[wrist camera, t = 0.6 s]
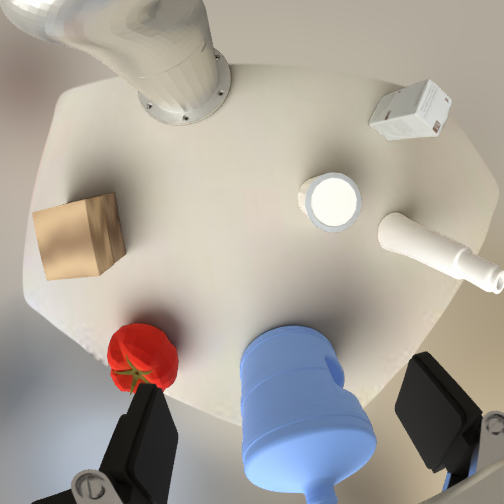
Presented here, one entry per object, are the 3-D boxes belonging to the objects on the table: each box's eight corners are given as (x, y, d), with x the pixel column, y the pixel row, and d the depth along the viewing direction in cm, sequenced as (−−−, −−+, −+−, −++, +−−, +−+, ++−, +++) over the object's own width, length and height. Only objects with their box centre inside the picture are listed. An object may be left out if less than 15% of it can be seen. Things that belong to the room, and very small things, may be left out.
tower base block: (67, 203, 35) (51, 207, 31) (115, 192, 35) (101, 194, 31) (78, 260, 38) (64, 269, 33) (126, 253, 38) (114, 262, 34)
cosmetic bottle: (394, 258, 40) (492, 323, 18) (369, 235, 38) (473, 293, 17) (415, 228, 39) (521, 273, 17) (392, 204, 37) (506, 236, 16)
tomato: (153, 303, 40) (135, 334, 31) (195, 362, 43) (188, 399, 34) (105, 327, 41) (82, 357, 32) (146, 379, 44) (133, 414, 35)
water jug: (236, 394, 45) (238, 538, 18) (244, 319, 41) (255, 496, 14) (320, 394, 46) (363, 522, 19) (342, 324, 42) (428, 463, 15)
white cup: (289, 175, 36) (301, 175, 29) (338, 170, 36) (358, 169, 29) (296, 225, 38) (308, 237, 31) (343, 219, 38) (364, 228, 31)
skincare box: (381, 95, 33) (428, 73, 21) (404, 113, 34) (454, 99, 22) (365, 125, 34) (412, 111, 23) (389, 144, 35) (440, 137, 23)
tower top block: (51, 208, 31) (32, 212, 27) (102, 196, 31) (84, 199, 27) (63, 269, 33) (47, 280, 29) (114, 264, 34) (99, 275, 29)
